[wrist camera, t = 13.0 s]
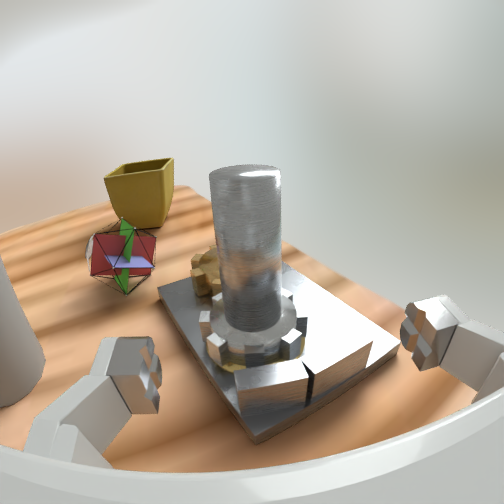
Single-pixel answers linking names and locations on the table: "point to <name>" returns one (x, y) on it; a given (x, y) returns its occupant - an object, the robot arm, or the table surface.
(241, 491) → the robot arm
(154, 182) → the flower pot
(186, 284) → the carrier
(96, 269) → the geometric puzzle
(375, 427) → the table surface
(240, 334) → the gear
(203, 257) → the sun gear
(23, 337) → the cup
